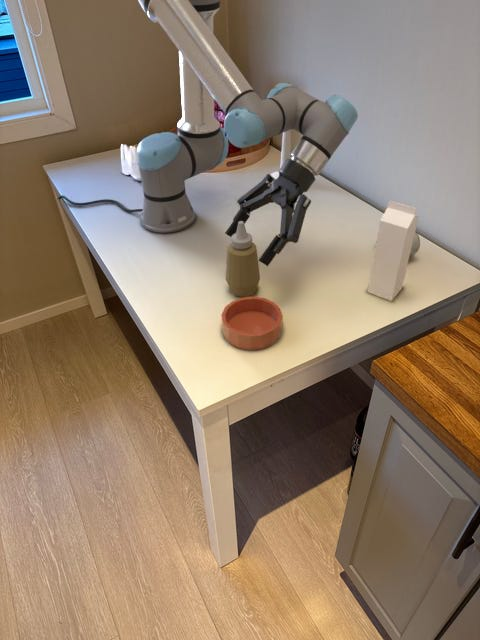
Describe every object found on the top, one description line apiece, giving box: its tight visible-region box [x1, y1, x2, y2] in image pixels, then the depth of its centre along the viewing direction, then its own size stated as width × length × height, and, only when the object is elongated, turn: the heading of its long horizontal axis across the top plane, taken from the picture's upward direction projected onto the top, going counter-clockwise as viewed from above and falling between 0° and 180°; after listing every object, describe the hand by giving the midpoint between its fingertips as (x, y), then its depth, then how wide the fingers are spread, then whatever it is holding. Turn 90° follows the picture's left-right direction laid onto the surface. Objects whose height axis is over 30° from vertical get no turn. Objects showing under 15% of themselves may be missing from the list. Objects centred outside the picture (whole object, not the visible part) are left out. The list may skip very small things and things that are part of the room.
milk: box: [367, 200, 420, 302], centre depth 106 cm, size 6×6×22 cm
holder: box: [220, 295, 284, 351], centre depth 103 cm, size 13×13×4 cm
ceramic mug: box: [375, 230, 421, 258], centre depth 122 cm, size 11×8×8 cm
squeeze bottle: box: [225, 221, 261, 298], centre depth 109 cm, size 8×8×18 cm
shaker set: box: [120, 143, 142, 182], centre depth 160 cm, size 12×4×11 cm, turn 39°
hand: (245, 249), depth 108 cm, fingers open, 13 cm apart
